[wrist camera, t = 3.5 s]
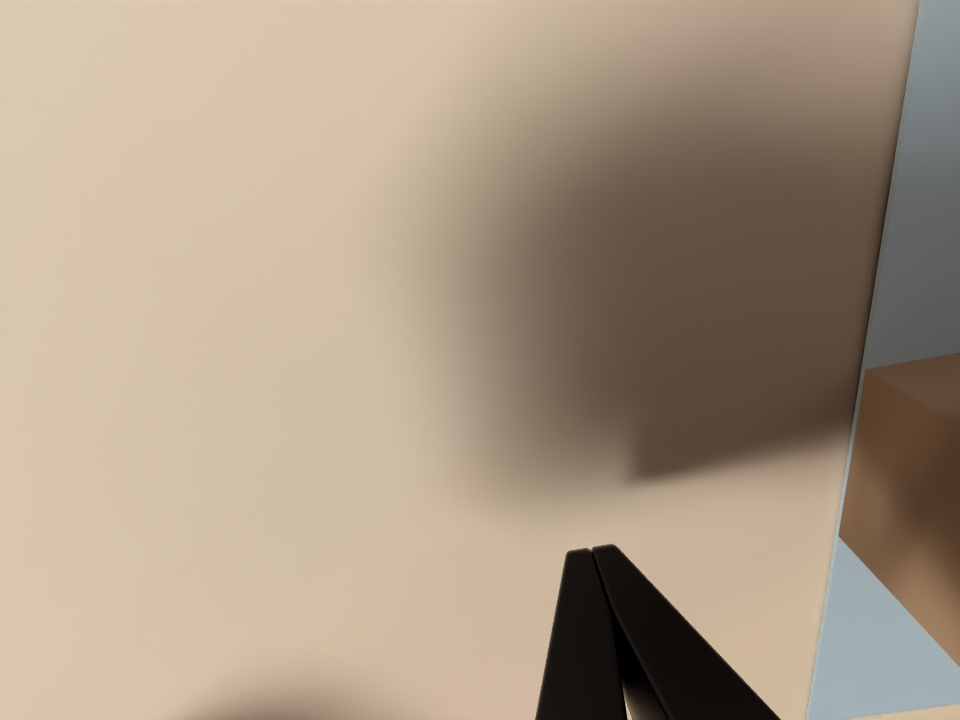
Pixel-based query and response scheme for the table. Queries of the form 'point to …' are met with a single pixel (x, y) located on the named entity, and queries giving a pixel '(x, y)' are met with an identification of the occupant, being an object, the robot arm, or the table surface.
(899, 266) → the mat
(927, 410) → the tee
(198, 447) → the table surface
